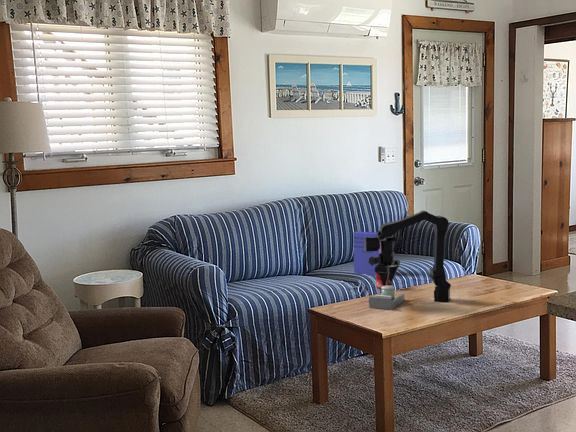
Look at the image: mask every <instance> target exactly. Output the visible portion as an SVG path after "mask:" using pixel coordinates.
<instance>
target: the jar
mask: <svg viewBox="0 0 576 432" xmlns="http://www.w3.org/2000/svg"><path fill="white" fill-rule="evenodd" d="M395 289H396V287H395V286H394V285H392V286H391V285H386V286H381V294H382V295H384V296H391V298H392V300H394V299H395V298H396V296H395V293H396V292H395Z"/></svg>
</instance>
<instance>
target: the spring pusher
mask: <svg viewBox="0 0 576 432" xmlns="http://www.w3.org/2000/svg"><path fill="white" fill-rule="evenodd" d="M374 297H382V298H391V296H384V295H380V294H375V295H374Z"/></svg>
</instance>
